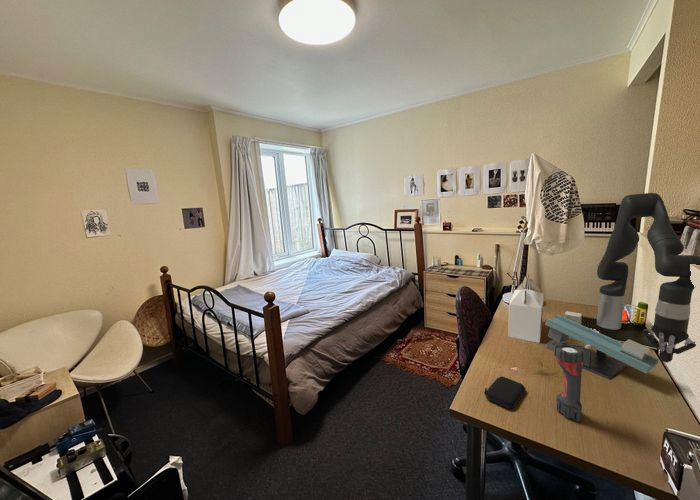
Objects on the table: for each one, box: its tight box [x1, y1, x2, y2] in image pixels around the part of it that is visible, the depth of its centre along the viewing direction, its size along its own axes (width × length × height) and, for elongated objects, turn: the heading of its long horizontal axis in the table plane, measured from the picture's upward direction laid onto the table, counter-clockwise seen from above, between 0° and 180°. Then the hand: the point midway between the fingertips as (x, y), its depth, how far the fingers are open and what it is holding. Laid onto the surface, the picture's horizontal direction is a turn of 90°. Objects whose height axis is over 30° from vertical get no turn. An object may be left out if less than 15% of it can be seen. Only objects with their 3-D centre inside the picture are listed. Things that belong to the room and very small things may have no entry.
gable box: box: [507, 274, 545, 344], centre depth 145 cm, size 22×13×28 cm, turn 144°
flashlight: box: [553, 341, 584, 423], centre depth 92 cm, size 8×8×23 cm
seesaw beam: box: [545, 314, 660, 374], centre depth 117 cm, size 14×34×9 cm, turn 27°
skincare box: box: [563, 311, 583, 341], centre depth 136 cm, size 6×4×12 cm
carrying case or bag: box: [484, 376, 526, 410], centre depth 104 cm, size 11×3×15 cm
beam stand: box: [546, 339, 628, 380], centre depth 121 cm, size 15×24×8 cm, turn 27°
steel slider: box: [620, 338, 651, 362], centre depth 105 cm, size 5×6×5 cm
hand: (665, 361), depth 98 cm, fingers closed
